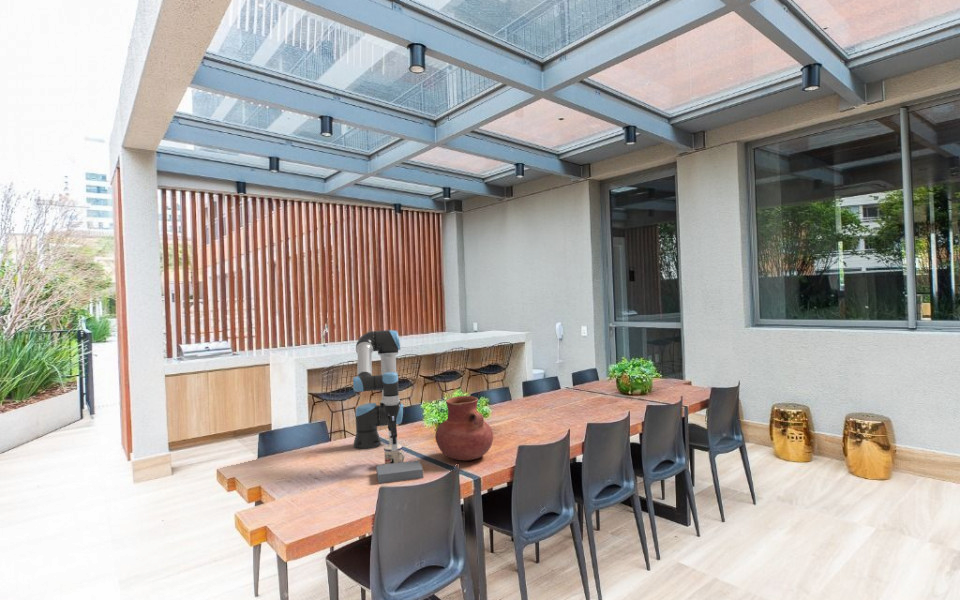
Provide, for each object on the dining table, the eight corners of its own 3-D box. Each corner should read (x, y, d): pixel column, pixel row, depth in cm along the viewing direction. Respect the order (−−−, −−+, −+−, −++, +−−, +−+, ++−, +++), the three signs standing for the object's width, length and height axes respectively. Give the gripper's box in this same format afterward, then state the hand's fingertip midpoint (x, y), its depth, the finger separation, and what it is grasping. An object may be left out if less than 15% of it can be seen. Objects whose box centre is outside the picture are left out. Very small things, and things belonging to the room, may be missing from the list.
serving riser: (376, 473, 236) (376, 465, 236) (419, 468, 241) (418, 460, 241) (378, 484, 222) (378, 475, 222) (423, 478, 227) (423, 469, 227)
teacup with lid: (380, 466, 247) (379, 442, 247) (394, 461, 254) (393, 438, 254) (397, 470, 239) (396, 446, 239) (411, 465, 247) (410, 441, 247)
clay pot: (425, 458, 257) (422, 399, 257) (469, 445, 276) (466, 391, 276) (461, 471, 234) (458, 407, 235) (506, 456, 254) (503, 397, 254)
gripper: (381, 400, 259) (383, 441, 258) (385, 409, 235) (387, 454, 234) (396, 399, 261) (398, 440, 260) (401, 407, 237) (403, 452, 236)
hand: (393, 447), depth 247 cm, fingers open, 13 cm apart
